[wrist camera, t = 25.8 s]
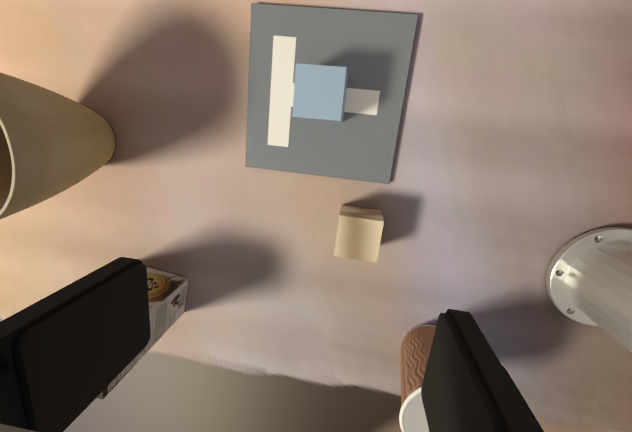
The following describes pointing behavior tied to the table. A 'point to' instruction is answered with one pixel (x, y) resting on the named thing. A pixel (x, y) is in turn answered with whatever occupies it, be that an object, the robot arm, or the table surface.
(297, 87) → the blue cube
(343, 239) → the wood block
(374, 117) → the letter board
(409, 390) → the coffee cup
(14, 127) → the plant pot
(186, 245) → the table surface
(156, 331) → the coffee box
